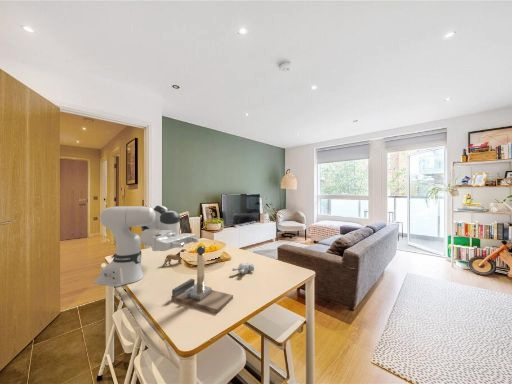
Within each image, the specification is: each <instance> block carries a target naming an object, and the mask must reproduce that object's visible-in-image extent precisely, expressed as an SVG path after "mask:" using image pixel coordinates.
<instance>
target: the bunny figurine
mask: <svg viewBox="0 0 512 384" xmlns="http://www.w3.org/2000/svg"><path fill="white" fill-rule="evenodd" d="M231 271H233V272H234V271H237V272H239V273H240V274H244V275H247V274H248V273H249V272H255V265H254V264H253V263H249V262H246V263H244V262H243V263H239V265H238V267H234V268H232V269H231Z"/></svg>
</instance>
